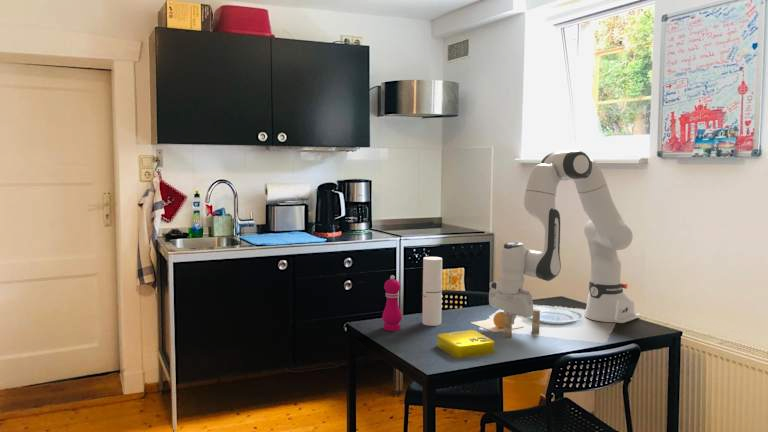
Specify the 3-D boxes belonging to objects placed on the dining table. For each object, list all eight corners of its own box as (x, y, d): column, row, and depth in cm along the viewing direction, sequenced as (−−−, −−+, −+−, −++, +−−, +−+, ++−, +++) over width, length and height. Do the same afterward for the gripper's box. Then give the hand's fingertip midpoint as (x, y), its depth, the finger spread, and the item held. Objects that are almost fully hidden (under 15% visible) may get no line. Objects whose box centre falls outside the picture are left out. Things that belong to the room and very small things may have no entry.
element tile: (473, 341, 233) (474, 328, 232) (496, 354, 219) (496, 340, 219) (435, 346, 227) (435, 332, 227) (455, 359, 214) (456, 345, 213)
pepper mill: (389, 332, 241) (390, 278, 239) (378, 327, 247) (378, 274, 245) (405, 329, 245) (406, 275, 243) (393, 324, 251) (394, 272, 249)
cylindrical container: (435, 326, 249) (436, 260, 246) (418, 323, 253) (419, 258, 250) (444, 322, 255) (445, 257, 252) (427, 319, 259) (428, 255, 256)
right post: (535, 330, 245) (536, 309, 244) (540, 332, 242) (541, 311, 241) (530, 331, 243) (531, 310, 242) (535, 333, 241) (536, 311, 240)
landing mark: (499, 318, 261) (499, 317, 261) (523, 327, 249) (523, 326, 249) (470, 323, 254) (470, 322, 254) (494, 332, 242) (494, 331, 242)
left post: (508, 335, 238) (508, 313, 237) (513, 337, 236) (513, 315, 235) (502, 336, 237) (503, 314, 236) (507, 338, 235) (507, 316, 234)
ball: (501, 321, 253) (505, 308, 250) (510, 330, 248) (514, 316, 246) (488, 323, 250) (492, 309, 248) (497, 332, 245) (501, 318, 243)
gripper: (538, 291, 236) (536, 329, 237) (499, 280, 253) (498, 316, 254) (525, 293, 232) (523, 332, 234) (486, 282, 250) (485, 318, 251)
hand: (509, 323), depth 244 cm, fingers closed
